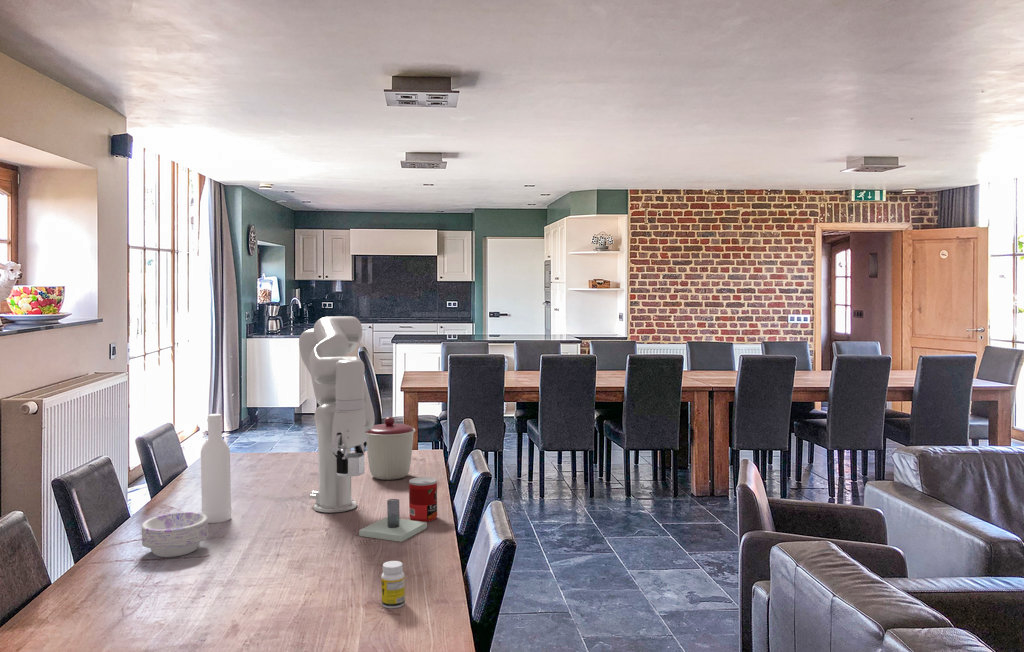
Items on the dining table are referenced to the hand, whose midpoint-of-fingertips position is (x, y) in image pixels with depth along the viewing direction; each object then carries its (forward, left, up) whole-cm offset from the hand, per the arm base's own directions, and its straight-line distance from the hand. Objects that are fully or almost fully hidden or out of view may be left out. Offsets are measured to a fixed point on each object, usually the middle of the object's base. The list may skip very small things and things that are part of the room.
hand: (350, 469), depth 209 cm
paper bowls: (-30, -32, -16) cm, 47 cm away
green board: (+12, +2, -16) cm, 20 cm away
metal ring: (0, 0, -1) cm, 1 cm away
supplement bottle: (+38, -40, -16) cm, 58 cm away
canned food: (+13, +16, -16) cm, 26 cm away
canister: (-23, +56, -16) cm, 62 cm away
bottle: (-41, -7, -16) cm, 44 cm away
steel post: (+12, +2, -15) cm, 19 cm away
